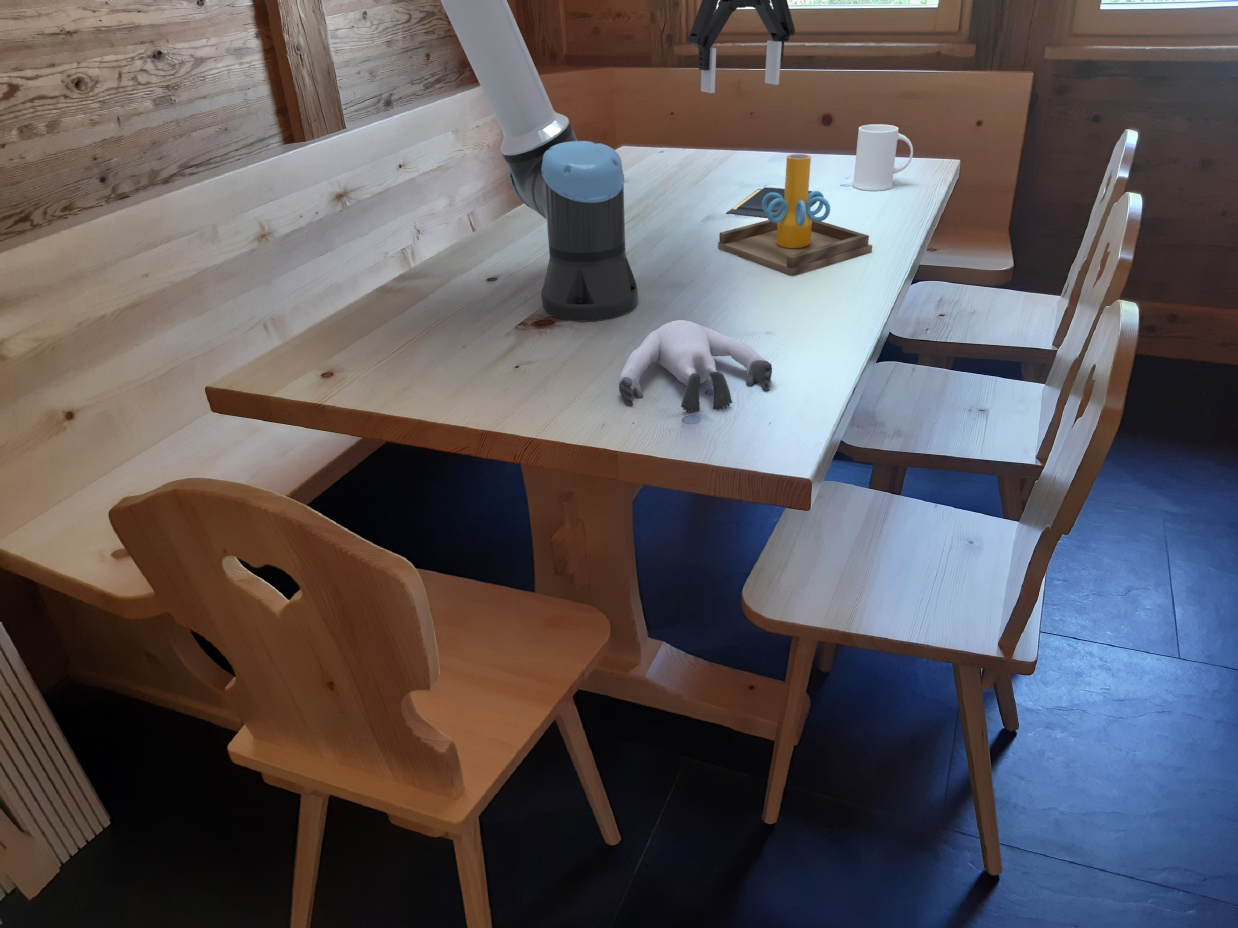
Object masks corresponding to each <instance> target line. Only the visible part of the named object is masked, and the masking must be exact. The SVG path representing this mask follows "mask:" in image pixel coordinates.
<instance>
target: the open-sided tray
mask: <svg viewBox="0 0 1238 928" xmlns="http://www.w3.org/2000/svg"><path fill="white" fill-rule="evenodd" d="M778 218H779V217H778ZM774 219H777V218H774ZM718 235H719V236H718V237H719V241H718V243H717V250H720V251H723V252H725V253H728V254H731V255H733V256H734V255H735V256H736V257H738V258H739V257H740V258H742V259H745V260H748V261H751V262H753V263H756V264H758V265H761V266H764V267H766V268H770V269H772V270H774V271H778V272H780V273H783V274H786V275H788V276H791V277H795V276H798V275H801V274H804V273H808V272H810V271H814V270H817V269H822V268H823V267H827V266H830V265H834V264H837V263H840V262H843V261H847V260H849V259H853V258H856V257H860V256H864V255H867V254H869V253H872V251H873V244H871V243H869V239H870V235H869V234H866V233H862V232H859V231H855V230H851V229H848V228H844V227H841V226H838V225H834V224H832V223H828V222H826V221H819V222H817V221H813V220H812V229H811V241H810V244H809V246H807V247H803V248H795V249H794V248H785V247H781V246H779V245H777V243H776V235H777V223H772V222H770V221H769V220H768V219H766V220H764V221H760V222H755V223H751V224H748V225H745V226H740V227H737V228H733V229H728V230H724V231H722V232H719V234H718Z"/></svg>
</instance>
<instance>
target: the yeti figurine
mask: <svg viewBox="0 0 1238 928" xmlns="http://www.w3.org/2000/svg"><path fill="white" fill-rule="evenodd" d="M714 357H731V358H732V359H733V360H734V361H735V362H736V363H738V364H740V365H742V366H743V367H744V368H745V369H746V371H747V372H746V377H745V379H746V382H745V385H746V386H747V387H752V386H753V385H754V383H757V384H758V385H759V386H760V387H761V388H762V390H763V391H764V392H768V391H770V385H769V384H770V383H771V382H772V381H771V380H772V374H773V367H772V366H773V365H772V363H771V362H769V361H767V360H766V359H765V358H764V357H763V356H762V355H761V354H759V353H758V352H757V351H756V350H755V349H754V348H753V347H752V346H750V345H749V344H748V343H747V342H745V341H743V340H742V339H738V338H734V337H729V336H727V335H724V334H722V333H720V332H718V331H716V330H714V329H711V328H710V327H706V326H702V325H700V324H699V323H696V322H693V321H691V320H685V319H683V320H682V319H678V320H677V319H676V320H672V321H669V322H667V323H666V322H665V324H663V325H661V326H660V327H658V328H657V329H655V330H653V331H650V332H649V333H648V334H647V336H646V337H645V338H644V340H643V341H642V342H641V344H640V345H639V346H638V347H637V348H635V349H634V350H632V352H631V353H630V354H629V356H628V358H627V360H626V362H625V364H624V365H623V368H622V370H621V372H620V375H619V378H618V390H619V393H620V395H621V397H622V399H623V403H624V404H625V405H626V406H627V407H632V406H633V404H634V402H633V401H634V397H633V395H635V397H636V398H637V399H644V392H643V390H642V388H641V385H640V378H641V376H642V374H643V373H644V372H645V370H646V369H648V367H649V366H650V363H654V362H657V363H659V364H660V365H661V367H662V368H664V369H666V370H667V371H668V372H670V373H671V374H672V375H673V376H674V377H675V379H677V381H678V382H680V383H682V384H683V385H686V386H685V389H684V393H683V397H682V400H681V403H680V407H681V408H682V409H683V411H686V412H688V413H693V412H695V413H698V412H700V411H701V410H700V408H701V407H700V405H701V403H700V396H699V395H700V394H699V393H700V385H701V384H703V383H704V382H706V381H708V380H711V382H712V389H713V401H712V409H713V410H724V409H727V408H728V407H730V405H731V404H732V403H733V401H732V395H731V391H730V387H729V384H728V383H727V380H726V377H725V375H724V374H723V373H722V372H721V371H717V370H716V362H715V359H714Z"/></svg>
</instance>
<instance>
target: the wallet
mask: <svg viewBox="0 0 1238 928" xmlns="http://www.w3.org/2000/svg"><path fill="white" fill-rule="evenodd" d="M813 191H814V190H809V191H808V194H810V193H811V192H813ZM771 192H775V193H778V194H780V195H781V196H782V197H783V198H784V195H785V188H780V187H765V186H764V187H763V188H758V189H756V190H755V191H754V192H752V193H751V194H749V195H748V196H747V197H746V198H744V199H743V200H742V201H740V202H739V203H737V204H736V205H735V206H733V207H732V208H730V209H729V210H728V211H727V212H726V213H725V214H727V215H735V216H741V217H742V216H744V217H753V218H761V219H768V217H767V214H766V213H765V212H764V211H763V208H762V200H763V198H764V197H765V195H767V194H768V193H771ZM813 197H818V196H817V195H815V196H813ZM813 197H812V198H813ZM774 199H777V198H776V197H770V198H769V199H768V200H767V202H766V206H767V209H768V206H769V204H770V203H771V202H772V201H773V200H774ZM818 202H819V201H816V202H814V203H812V205H811V207H810V209H811V208H812V207H813V206H814V205H815V204H817V203H818ZM780 207H781V203H777V204H775V205H774V206H773V208H772V211H771V212H777V211H779V209H780ZM778 217H780V215H779V216H777V217H773V218H778Z"/></svg>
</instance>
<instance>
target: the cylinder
mask: <svg viewBox="0 0 1238 928" xmlns="http://www.w3.org/2000/svg"><path fill="white" fill-rule="evenodd" d="M811 160H812V157H811V155H810V154H804V153H794V154H793V153H792V154H788V155H787V156H786V163H785V164H786V165H785V177H784V178H785V182H784V189H785V195H784V198H783V197H782V196H781V195H780V194H778V193H775V192H771V193H768V194H767V195H765V197H764V198H763V200H762V208H763V211H764V212H765V213H766V214H767V217H768V218H767V220H769V221H770V222H772V223H777V235H776V243H777V245H779V246H781V247H785V248H794V249H795V248H803V247H807V246H809V244H810V241H811V229H812V220H813V221H817V222H819V221H822V222H824V221H825V220H826V219H827V218H828V217H829V215H830V214H831V205H830V203H829V201H828V200H827V199H826V198H825V197H824V195H823V193H822V192H821V191H819V190H812V191H813V192H811V193H810V194H808V191H810V189H809V187H810V176H811V174H810V172H811ZM815 195H817V196H818V197H813V196H815ZM770 197H776V198H777V199H774V200H773V201H772V202H771V203H770V204H769V206H768V209H767V206H766V202H767V200H768V199H769V198H770ZM812 197H813V198H812ZM816 201H818V202H819V203H818V206H817V207H816V209H814V210H811V208H812V207H811V205H812V203H814V202H816ZM777 203H781V207H780V209H779V211H777V212H771V211H772V208H773V206H774V205H775V204H777ZM816 203H817V202H816ZM810 207H811V208H810ZM824 207H825V210H824V213H823V215H821V216H816V215H818V214H819V213H820V212H821V210H822V209H823V208H824ZM779 215H780V217H779V218H777V219H774V218H773V217H777V216H779Z"/></svg>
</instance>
